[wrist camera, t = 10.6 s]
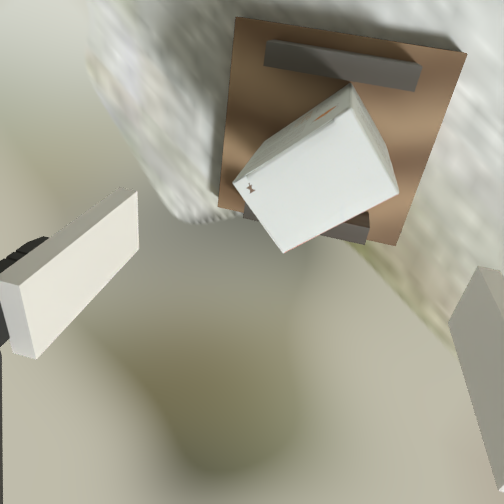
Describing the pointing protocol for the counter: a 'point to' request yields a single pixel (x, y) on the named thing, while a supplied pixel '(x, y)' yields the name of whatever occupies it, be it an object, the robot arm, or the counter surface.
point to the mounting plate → (325, 85)
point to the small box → (318, 171)
